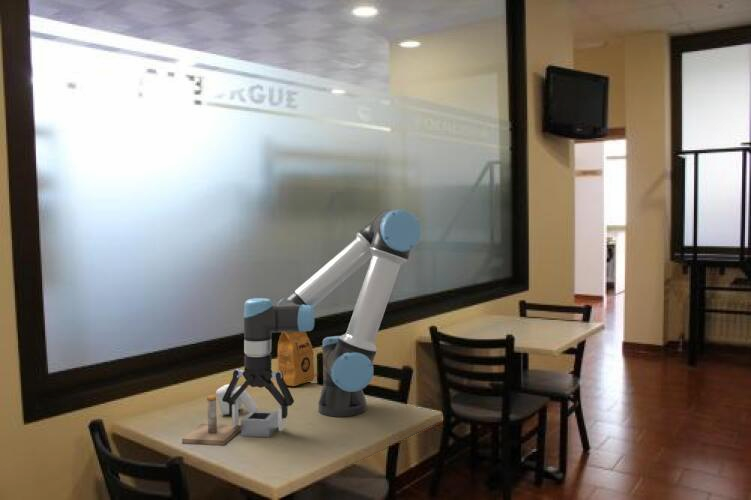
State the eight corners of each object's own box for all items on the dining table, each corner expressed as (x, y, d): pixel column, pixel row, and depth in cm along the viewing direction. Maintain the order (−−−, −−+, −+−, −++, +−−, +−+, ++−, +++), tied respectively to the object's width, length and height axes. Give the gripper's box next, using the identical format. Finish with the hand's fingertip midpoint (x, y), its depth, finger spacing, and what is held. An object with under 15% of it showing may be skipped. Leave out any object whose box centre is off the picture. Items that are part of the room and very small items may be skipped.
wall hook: (254, 416, 187) (245, 384, 187) (223, 422, 189) (215, 390, 189) (264, 407, 195) (256, 377, 195) (234, 414, 197) (226, 383, 197)
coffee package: (318, 381, 226) (317, 321, 225) (293, 389, 216) (292, 327, 215) (299, 377, 232) (297, 319, 231) (274, 385, 223) (272, 324, 221)
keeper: (241, 429, 177) (240, 390, 177) (224, 445, 166) (222, 403, 165) (201, 427, 179) (200, 389, 179) (182, 443, 168) (180, 402, 167)
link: (278, 427, 179) (277, 411, 178) (268, 437, 171) (268, 421, 171) (251, 426, 180) (251, 410, 180) (241, 435, 172) (240, 420, 172)
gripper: (304, 352, 176) (304, 425, 177) (221, 348, 180) (221, 420, 181) (297, 359, 168) (297, 435, 170) (210, 354, 172) (210, 429, 174)
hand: (258, 427), depth 175 cm, fingers open, 13 cm apart
